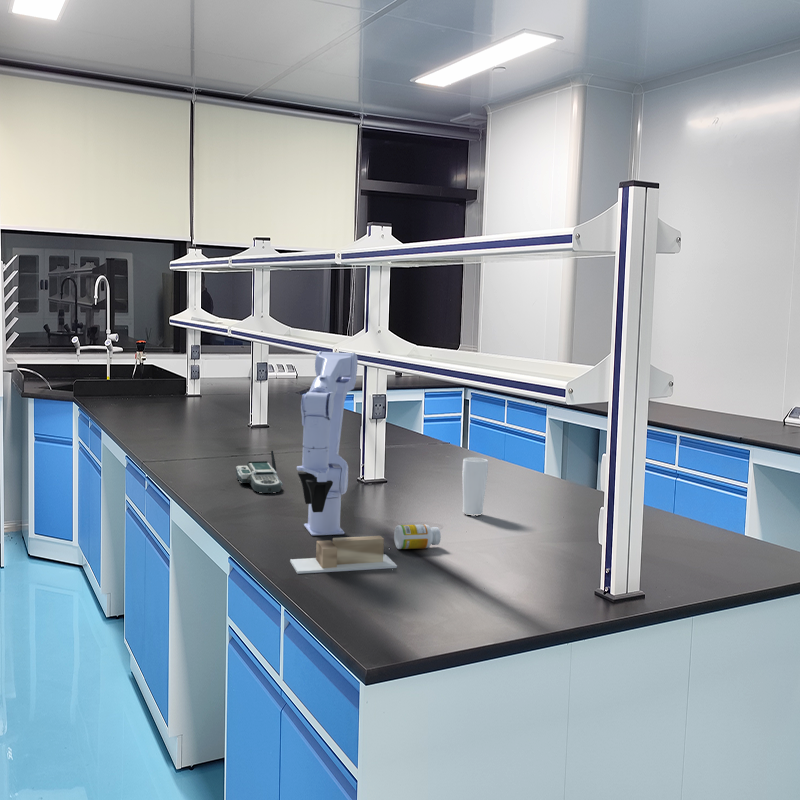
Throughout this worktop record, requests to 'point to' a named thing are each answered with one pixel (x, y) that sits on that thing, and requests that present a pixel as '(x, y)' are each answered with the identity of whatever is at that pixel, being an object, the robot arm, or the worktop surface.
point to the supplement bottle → (416, 536)
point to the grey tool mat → (314, 567)
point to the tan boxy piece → (349, 551)
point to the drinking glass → (474, 484)
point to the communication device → (260, 475)
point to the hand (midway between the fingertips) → (313, 507)
